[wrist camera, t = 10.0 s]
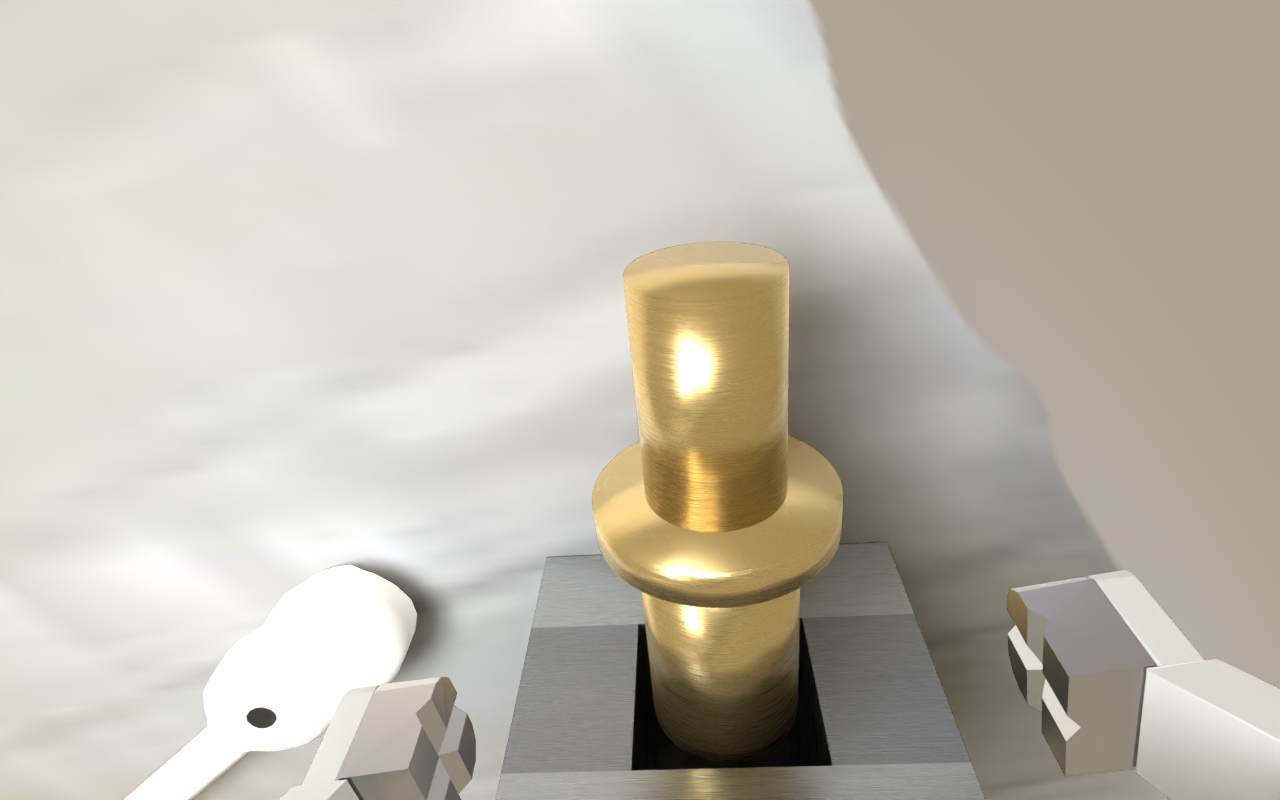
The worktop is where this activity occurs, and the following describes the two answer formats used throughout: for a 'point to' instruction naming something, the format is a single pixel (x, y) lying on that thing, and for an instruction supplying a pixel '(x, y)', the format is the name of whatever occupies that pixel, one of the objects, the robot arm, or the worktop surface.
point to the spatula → (292, 675)
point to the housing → (764, 786)
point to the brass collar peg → (717, 496)
